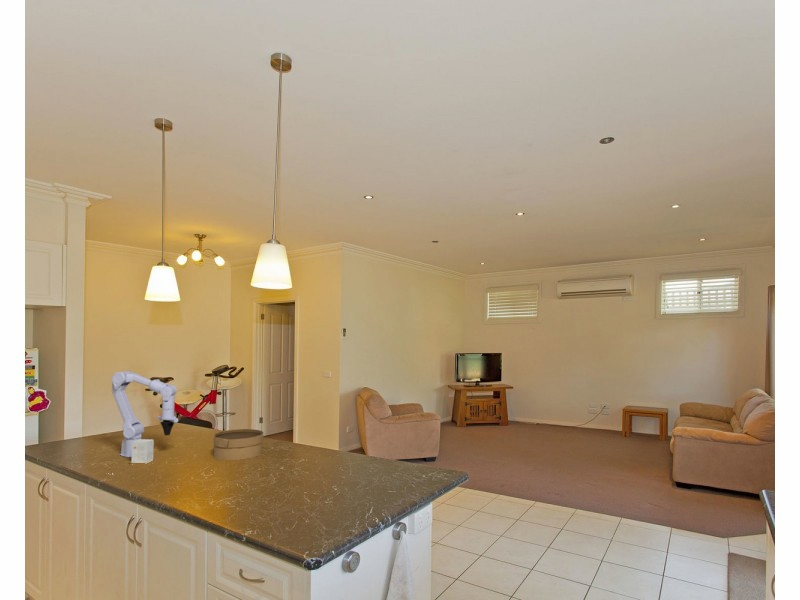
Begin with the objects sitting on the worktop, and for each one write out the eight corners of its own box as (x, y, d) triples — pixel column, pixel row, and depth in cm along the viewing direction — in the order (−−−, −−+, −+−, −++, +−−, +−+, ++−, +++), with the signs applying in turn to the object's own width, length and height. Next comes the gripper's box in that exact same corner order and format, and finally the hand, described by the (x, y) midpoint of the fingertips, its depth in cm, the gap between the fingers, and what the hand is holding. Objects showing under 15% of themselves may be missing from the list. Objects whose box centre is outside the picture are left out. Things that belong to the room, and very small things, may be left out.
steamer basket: (228, 463, 230) (229, 440, 231) (204, 455, 247) (204, 433, 248) (272, 454, 249) (272, 433, 250) (246, 447, 265) (247, 427, 266)
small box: (153, 460, 235) (154, 439, 235) (146, 463, 229) (147, 441, 230) (138, 460, 235) (139, 438, 236) (130, 463, 230) (131, 441, 231)
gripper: (183, 408, 247) (182, 435, 246) (166, 406, 254) (165, 432, 253) (171, 410, 241) (170, 437, 240) (154, 408, 248) (153, 434, 247)
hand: (167, 435), depth 246 cm, fingers closed
